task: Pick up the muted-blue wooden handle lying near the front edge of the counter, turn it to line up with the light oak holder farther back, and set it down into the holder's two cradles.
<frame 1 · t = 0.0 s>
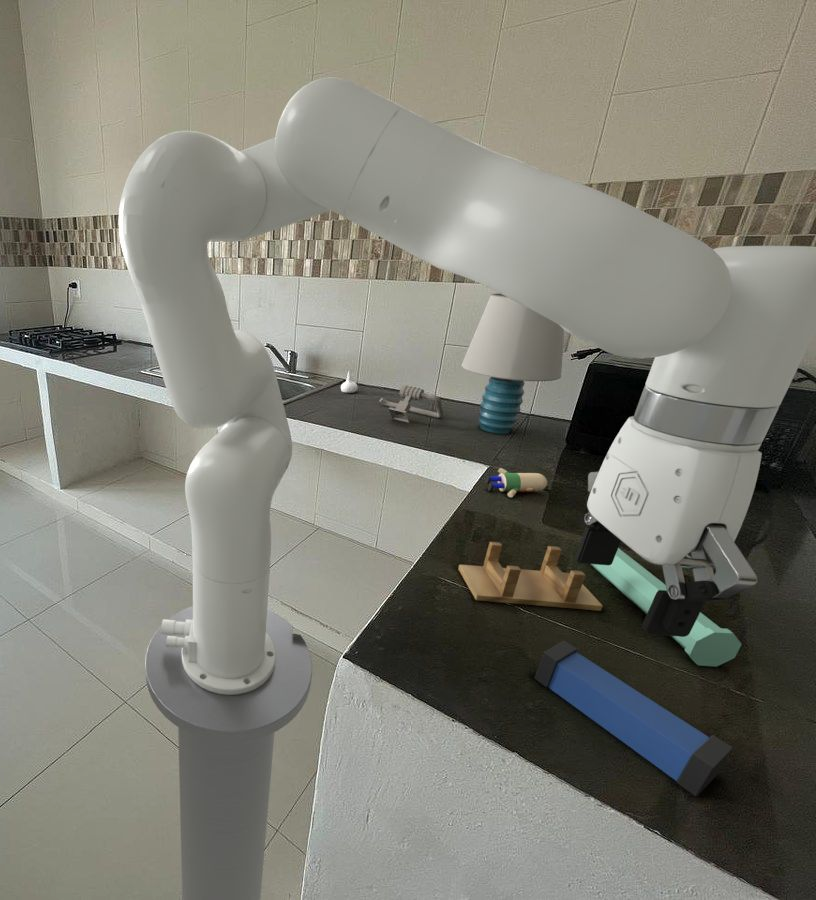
hand: (624, 594, 44), 21 cm above the worktop, tool pointing down, fingers open, 9 cm apart
garlic bulb: (348, 392, 186), on the worktop
toilet paper hanger: (400, 416, 159), on the worktop
toy figurine: (514, 492, 109), on the worktop
holder: (525, 588, 77), on the worktop
mint octagonal rod: (637, 603, 74), on the worktop
lamp: (494, 429, 148), on the worktop
handle: (615, 722, 55), on the worktop
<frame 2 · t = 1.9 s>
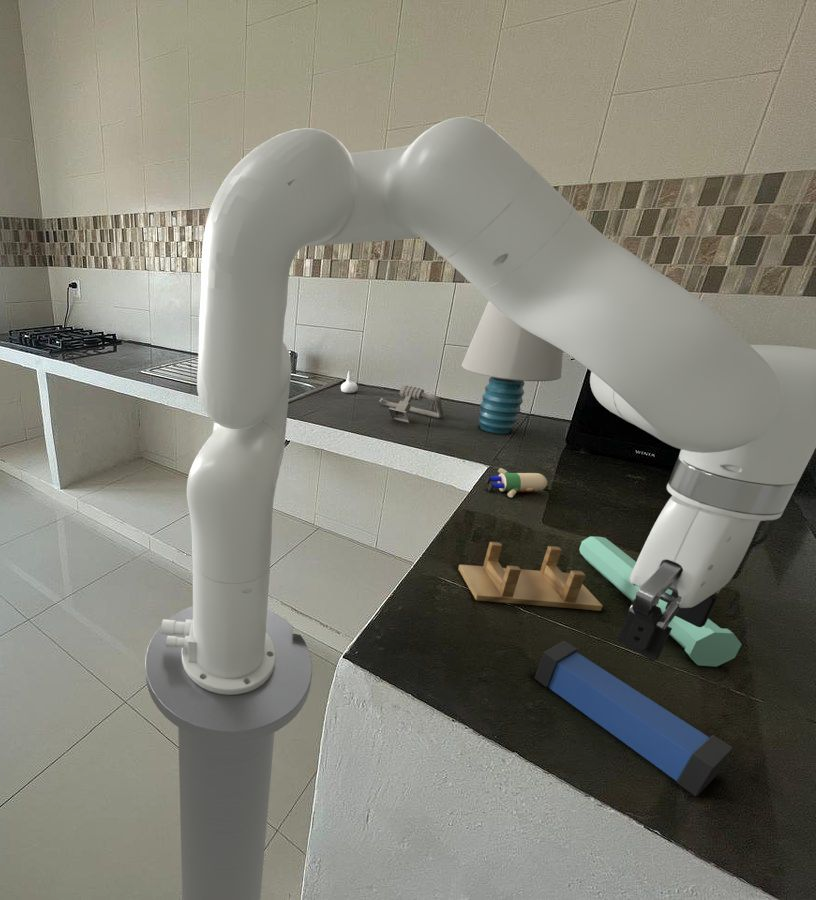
hand: (661, 633, 50), 13 cm above the worktop, tool pointing down, fingers open, 9 cm apart
nothing on the worktop moved.
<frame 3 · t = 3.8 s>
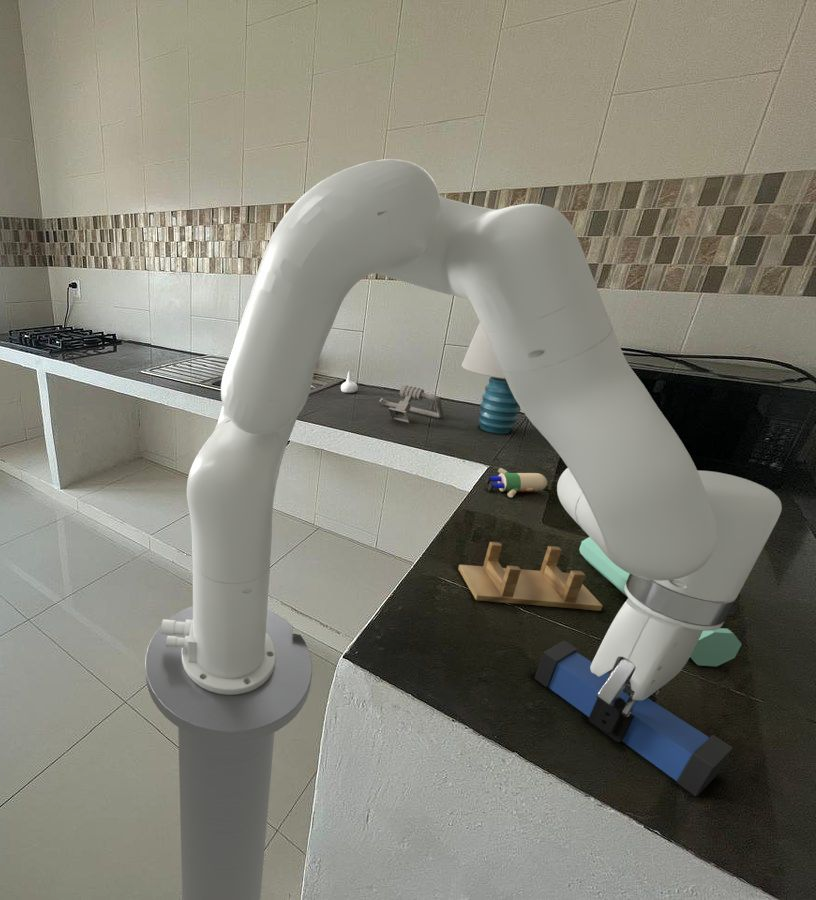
hand: (616, 720, 55), 0 cm above the worktop, tool pointing down, fingers closed on handle, 4 cm apart
handle: (615, 722, 55), on the worktop, touching gripper
everything else where it was.
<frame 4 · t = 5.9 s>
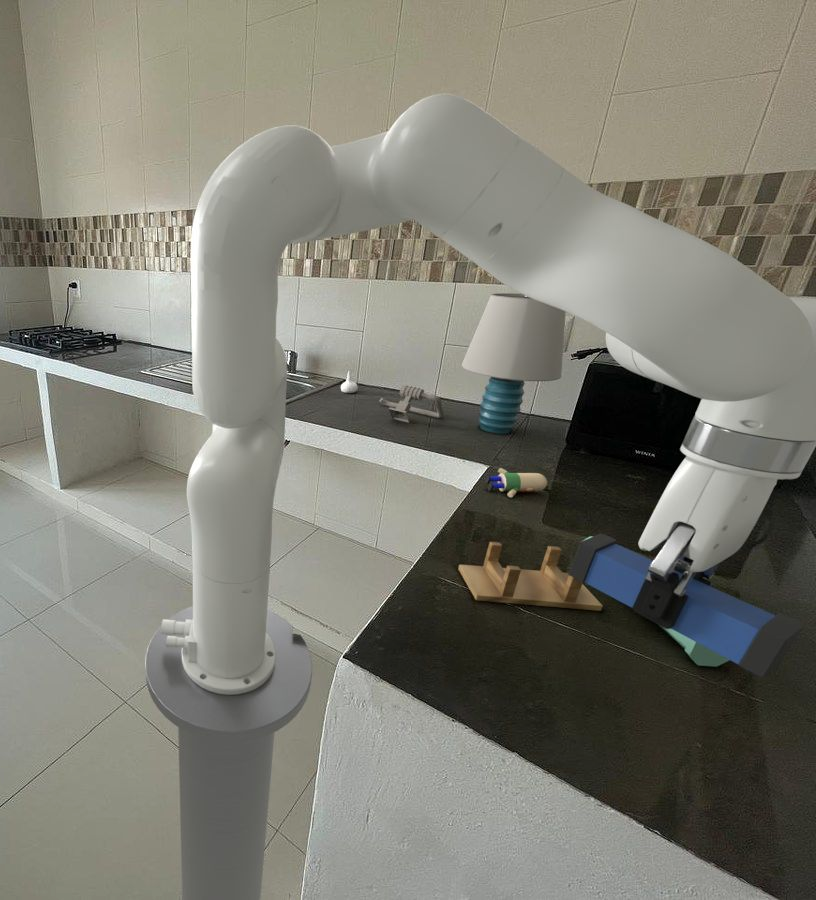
hand: (663, 610, 49), 16 cm above the worktop, tool pointing down, fingers closed on handle, 4 cm apart
handle: (662, 613, 49), point 16 cm above the worktop, touching gripper
everything else where it was.
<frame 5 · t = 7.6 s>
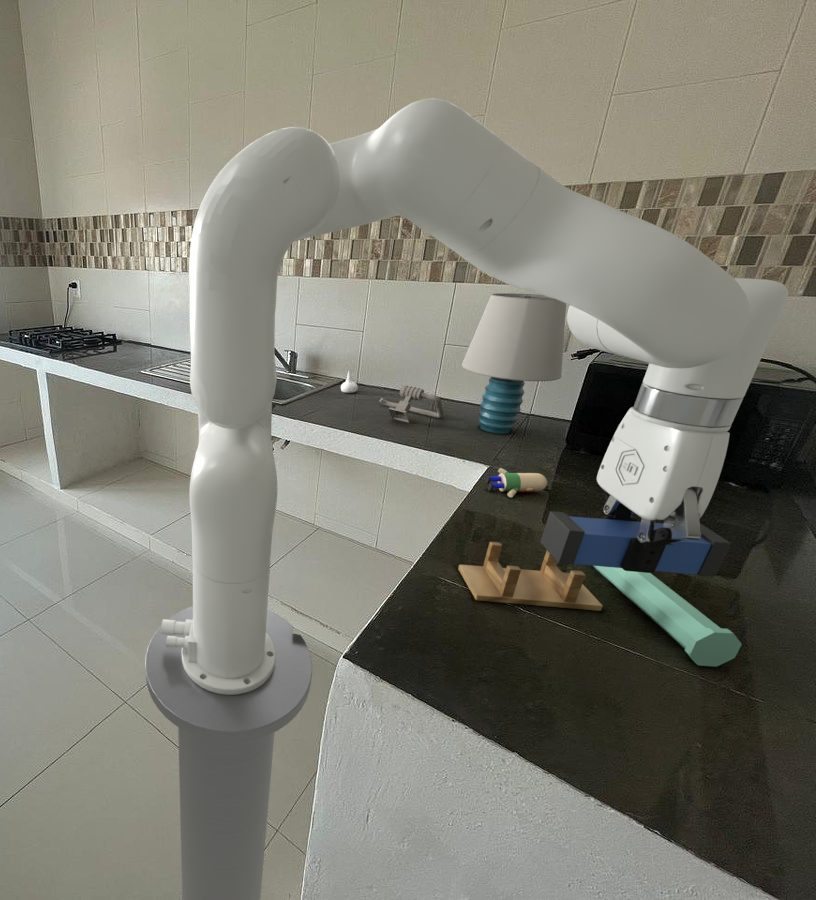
hand: (623, 556, 56), 17 cm above the worktop, tool pointing down, fingers closed on handle, 4 cm apart
handle: (622, 558, 56), point 17 cm above the worktop, touching gripper
everything else where it was.
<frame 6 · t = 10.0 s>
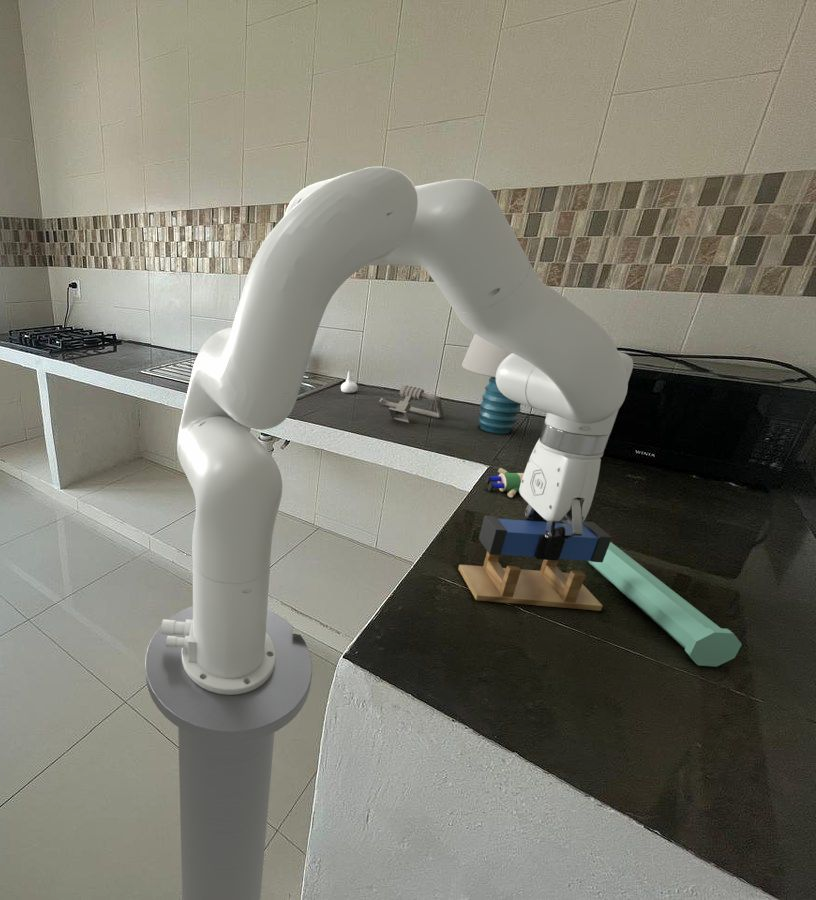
hand: (538, 548, 74), 8 cm above the worktop, tool pointing down, fingers closed on handle, 4 cm apart
handle: (538, 550, 74), point 7 cm above the worktop, touching gripper
everything else where it was.
when the fingers open (3 cm above the worktop, at t = 11.5 s): handle stays where it is, resting on holder.
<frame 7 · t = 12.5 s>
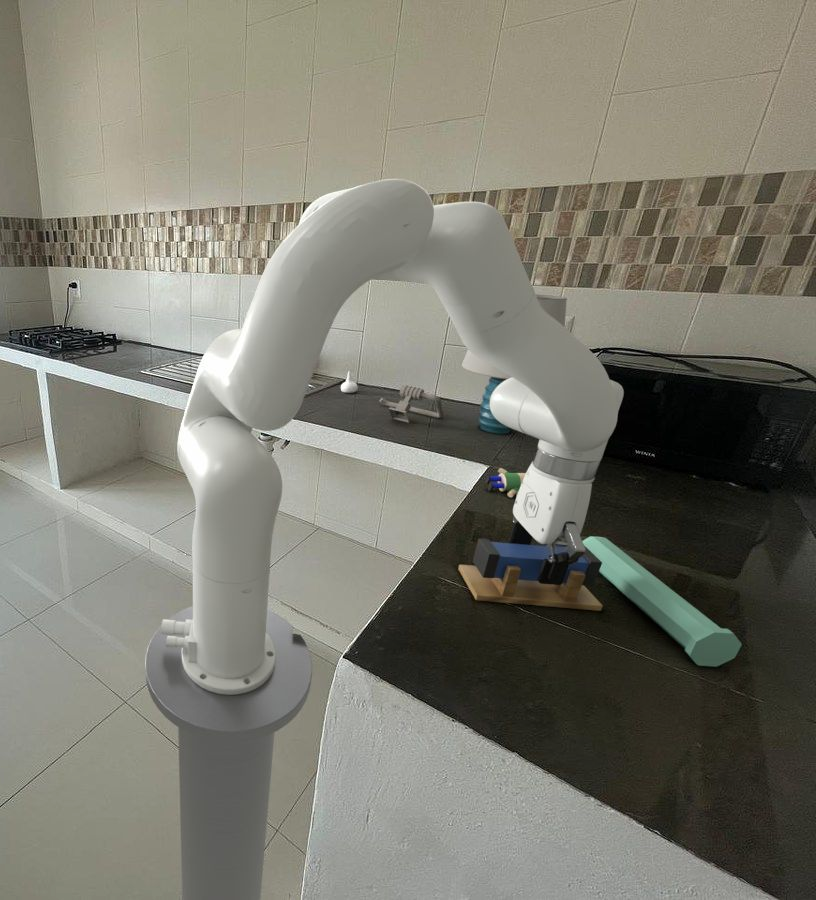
hand: (532, 563, 75), 5 cm above the worktop, tool pointing down, fingers open, 9 cm apart
handle: (530, 573, 76), point 3 cm above the worktop, touching holder
everything else where it was.
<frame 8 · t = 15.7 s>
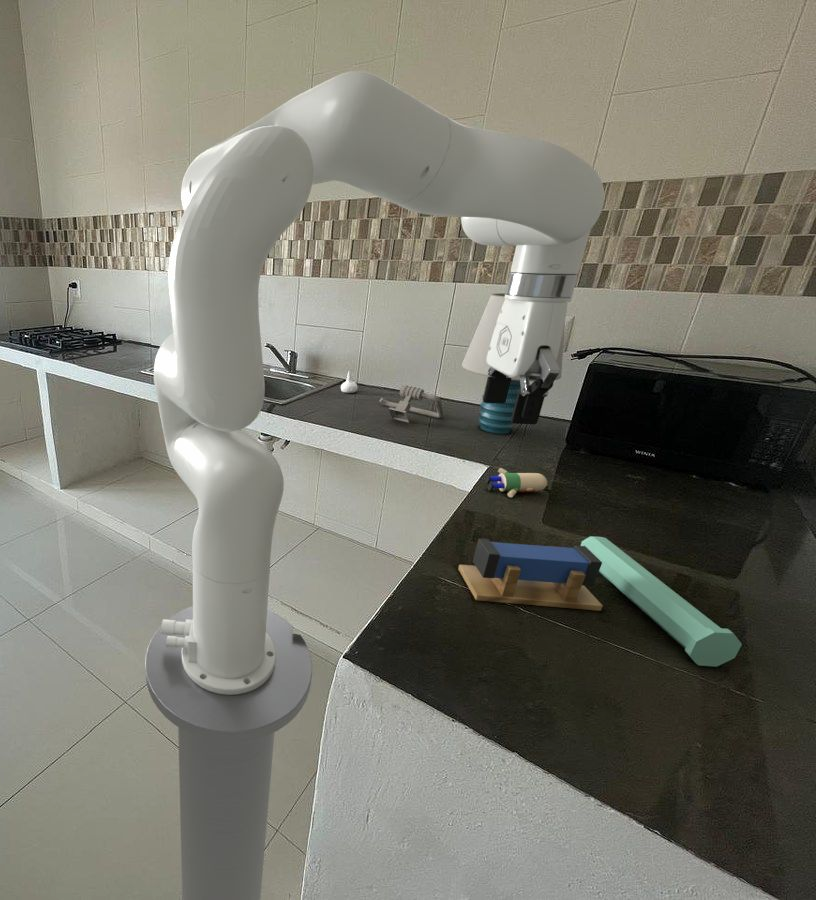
hand: (507, 412, 70), 28 cm above the worktop, tool pointing down, fingers open, 9 cm apart
nothing on the worktop moved.
at the end: handle 0.1 cm off-centre on the holder, point 3.0 cm above the holder's base; handle tilted 0°; handle touching holder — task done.
